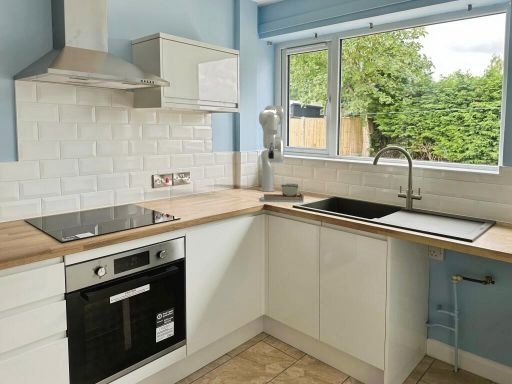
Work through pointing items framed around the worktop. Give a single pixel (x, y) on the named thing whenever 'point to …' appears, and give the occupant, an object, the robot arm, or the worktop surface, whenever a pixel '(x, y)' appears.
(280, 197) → the keyway board
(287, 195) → the food container
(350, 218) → the worktop surface
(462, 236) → the worktop surface
